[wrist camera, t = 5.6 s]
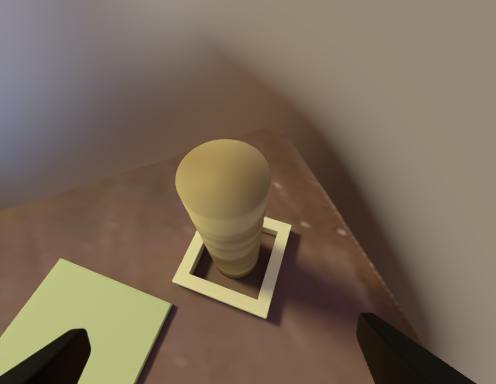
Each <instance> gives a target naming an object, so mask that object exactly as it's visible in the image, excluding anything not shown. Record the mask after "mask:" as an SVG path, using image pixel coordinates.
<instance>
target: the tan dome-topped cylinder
mask: <svg viewBox="0 0 496 384" xmlns="http://www.w3.org/2000/svg"><path fill="white" fill-rule="evenodd" d="M270 179H271V175H270V168H269V165H268V163H267V161H266V159H265V158H264V156H263V155H262V154H261V153H260V152H259V151H258V150H257V149H255V148H254V147H252V146H251V145H249V144H247V143H244V142H241V141H237V140H230V139H221V140H214V141H210V142H207V143H204V144H202V145H200V146H198V147H196V148H195V149H193V150H192V151H191V152H189V153H188V154H187V155H186V156H185V157H184V159H183V160H182V161H181V163H180V165H179V167H178V170H177V173H176V188H177V192H178V194H179V196H180V198H181V200H182V202H183V204H184V206H185V208H186V210H187V211H188V213H189V215H190V217H191V219H192V221H193V223H194V225H195V227H196V229H197V231H198V232H199V234H200V236H201V238H202V240H203V242H204V244H205V246H206V248H207V250H208V252H209V253H210V255H211V257H212V259H213V261H214V263H215V265H216V267H217V268H218V270H219V271H220V272H221V273H222V274H223V275H225V276H227V277H230V278H241V277H244V276H246V275H248V274H249V273H250V272H251V271H252V270H253V269H254V268H255V266H256V263H257V260H258V254H259V248H260V242H261V235H262V229H263V223H264V217H265V211H266V205H267V199H268V192H269V186H270Z"/></svg>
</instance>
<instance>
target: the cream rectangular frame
mask: <svg viewBox="0 0 496 384" xmlns="http://www.w3.org/2000/svg"><path fill="white" fill-rule="evenodd" d="M290 228H291V225H289V224H286V223H282V222H279V221H276V220H273V219H270V218H267V217H264V223H263V229H262V231H263V232H266V233H269V234H272V235H275V236H276V239H275V243H274V246H273V249H272V253H271V256H270V260H269V263H268V266H267V270H266V273H265V276H264V280H263V283H262V286H261V290H260V293H259V296H258V300H256V299H253V298H251V297H248V296H245V295H243V294H240V293H238V292H235V291H232V290H230V289H227V288H225V287H222V286H219V285H217V284H214V283H212V282H209V281H206V280H204V279H201V278H199V277H196V276H193V273H194V270H195V268H196V266H197V264H198V261H199V259H200V257H201V255H202V253H203V250H204V248H205V244H204V242H203V240H202V238H201V236H200V234H199V232H198V231H197V232H196V234H195V236H194V238H193V240H192V242H191V244H190V246H189V248H188V250H187V252H186V254H185V256H184V258H183V260H182V262H181V264H180V266H179V268H178V271H177V273H176V275H175V277H174V279H173V281H172V282H174V283H175V284H178V285H180V286H183V287H185V288H188V289H190V290H193V291H195V292H198V293H200V294H203V295H205V296H208V297H211V298H213V299H216V300H218V301H221V302H223V303H226V304H228V305H231V306H233V307H236V308H238V309H241V310H243V311H246V312H248V313H251V314H253V315H256V316H259V317H261V318H264V319H266V317H267V313H268V309H269V306H270V302H271V298H272V295H273V291H274V287H275V284H276V280H277V276H278V273H279V269H280V265H281V262H282V258H283V254H284V250H285V247H286V243H287V239H288V236H289V232H290Z"/></svg>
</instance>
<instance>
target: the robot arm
mask: <svg viewBox="0 0 496 384" xmlns="http://www.w3.org/2000/svg"><path fill="white" fill-rule="evenodd" d="M356 334H357V339H358V342H359V345H360V347H361V350H362V352H363V355H364V357H365V360H366V362H367V365H368V367H369V370H370V372H371V375H372V377H373V380H374V382H375V384H476V383H474V382H473V381H472V380H470V379H468V378H467V377H465V376H464V375H463V374H461V373H460V372H458V371H457V370H455V369H454V368H453V367H451V366H450V365H448V364H447V363H445V362H444V361H442V360H441V359H439V358H438V357H437V356H435V355H434V354H432V353H430V352H429V351H428V350H426V349H425V348H423V347H422V346H420V345H419V344H417V343H416V342H415V341H413V340H412V339H410V338H409V337H407V336H406V335H404V334H403V333H401V332H400V331H398V330H397V329H396V328H394V327H393V326H391V325H390V324H388V323H387V322H385V321H384V320H382V319H381V318H379V317H378V316H376V315H375V314H373V313H370V312H368V313H360V314H359V315H358V322H357V331H356ZM90 354H91V345H90V341H89V337H88V333H87V330H86V329H84V328H77V329H71V330H69V331H67V332H66V333H64V334H63V335H61V336H60V337H58V338H57V339H55V340H54V341H52V342H51V343H49V344H48V345H46V346H45V347H43V348H42V349H40V350H39V351H37V352H36V353H34V354H32V355H31V356H29V357H28V358H26V359H25V360H23V361H22V362H20V363H19V364H17V365H16V366H14V367H13V368H11V369H10V370H8V371H7V372H5V373H4V374H2V375H1V376H0V384H78V381H79V379H80V377H81V375H82V373H83V370H84V368H85V366H86V364H87V361H88V359H89V357H90Z"/></svg>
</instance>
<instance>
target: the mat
mask: <svg viewBox="0 0 496 384" xmlns="http://www.w3.org/2000/svg"><path fill="white" fill-rule="evenodd" d="M172 305H173V304H171V303H168V302H166V301H164V300H161V299H159V298H156V297H154V296H151V295H149V294H147V293H144V292H142V291H139V290H137V289H134V288H132V287H130V286H127V285H125V284H122V283H120V282H118V281H115V280H113V279H110V278H108V277H105V276H103V275H101V274H98V273H96V272H93V271H91V270H88V269H86V268H84V267H81V266H79V265H76V264H74V263H72V262H69V261H67V260H64V259H61V258H60V260H59V261H58V262H57V264H56V265H55V266H54V268H53V269H52V270H51V271H50V273H49V274H48V275H47V277H46V278H45V279H44V281H43V282H42V283H41V285H40V286H39V287H38V289H37V290H36V291H35V293H34V294H33V295H32V297H31V298H30V299H29V301H28V302H27V303H26V304H25V306H24V307H23V308H22V310H21V311H20V312H19V314H18V315H17V316H16V318H15V319H14V320H13V322H12V323H11V324H10V326H9V327H8V328H7V330H6V331H5V332H4V334H3V335H2V336H1V337H0V376H1V375H2V374H4V373H5V372H7V371H8V370H10V369H11V368H13V367H14V366H16V365H17V364H19V363H20V362H22V361H23V360H25V359H26V358H28V357H29V356H31V355H32V354H34V353H36V352H37V351H39V350H40V349H42V348H43V347H45V346H46V345H48V344H49V343H51V342H52V341H54V340H55V339H57V338H58V337H60V336H61V335H63V334H64V333H66V332H67V331H69V330H71V329H77V328H84V329H86V330H87V333H88V337H89V341H90V345H91V354H90V357H89V359H88V361H87V364H86V366H85V368H84V370H83V373H82V375H81V377H80V379H79V381H78V384H136V382H137V380H138V378H139V376H140V374H141V371H142V369H143V367H144V365H145V363H146V361H147V359H148V356H149V354H150V352H151V350H152V348H153V346H154V344H155V341H156V339H157V337H158V335H159V333H160V331H161V328H162V326H163V324H164V322H165V320H166V318H167V316H168V313H169V311H170V309H171V307H172Z"/></svg>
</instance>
